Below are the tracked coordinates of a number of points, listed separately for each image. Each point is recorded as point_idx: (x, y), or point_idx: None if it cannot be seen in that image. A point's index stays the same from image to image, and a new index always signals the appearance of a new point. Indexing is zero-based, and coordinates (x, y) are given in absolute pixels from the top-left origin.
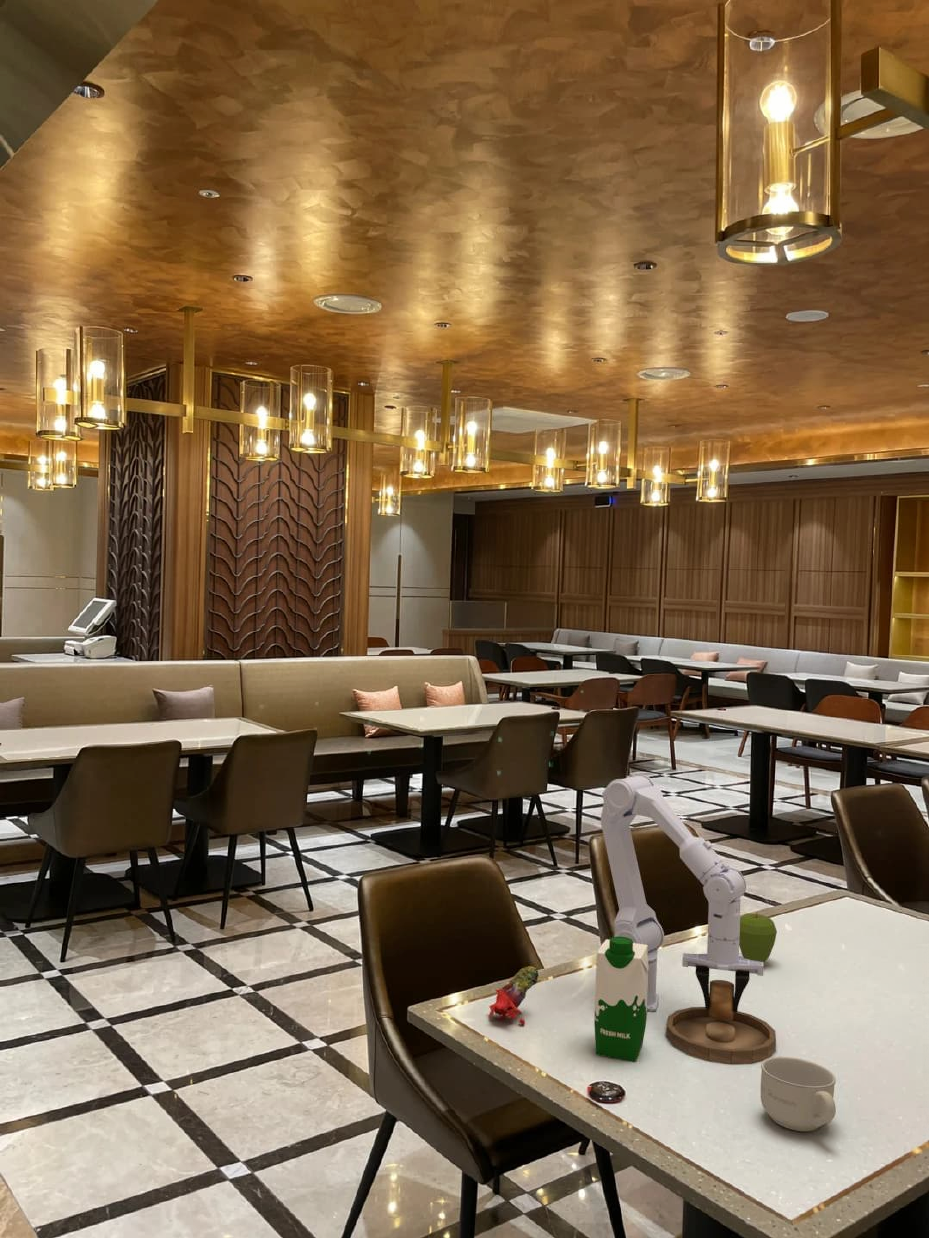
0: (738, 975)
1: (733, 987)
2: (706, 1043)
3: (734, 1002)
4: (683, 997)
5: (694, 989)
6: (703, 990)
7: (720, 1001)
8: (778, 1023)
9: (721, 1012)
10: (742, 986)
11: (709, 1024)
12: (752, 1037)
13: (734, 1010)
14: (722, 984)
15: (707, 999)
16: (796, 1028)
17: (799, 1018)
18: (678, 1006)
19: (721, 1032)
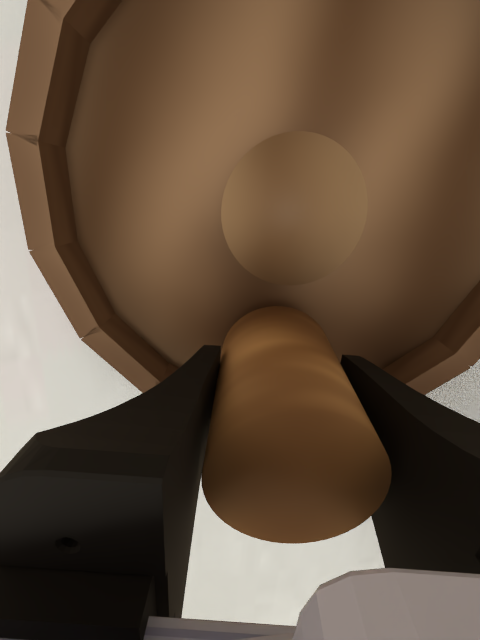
0: (128, 536)
1: (208, 449)
2: (369, 102)
3: (211, 361)
4: (363, 523)
5: (319, 570)
6: (434, 404)
7: (299, 349)
8: (69, 412)
9: (283, 322)
10: (120, 417)
11: (345, 245)
12: (147, 241)
13: (214, 347)
14: (292, 476)
15: (373, 374)
16: (6, 388)
17: (11, 458)
18: None
19: (296, 146)
